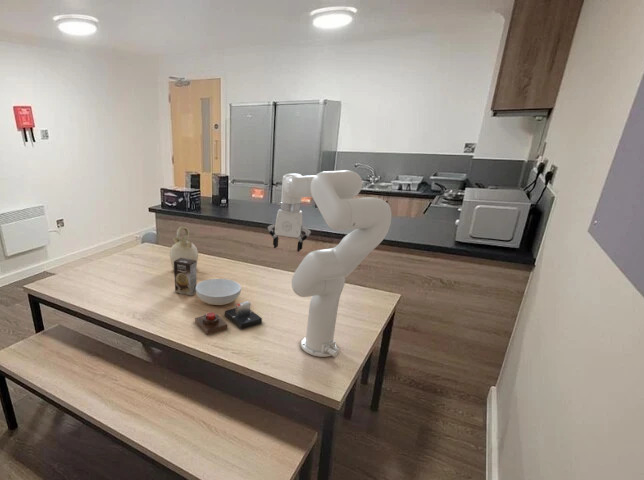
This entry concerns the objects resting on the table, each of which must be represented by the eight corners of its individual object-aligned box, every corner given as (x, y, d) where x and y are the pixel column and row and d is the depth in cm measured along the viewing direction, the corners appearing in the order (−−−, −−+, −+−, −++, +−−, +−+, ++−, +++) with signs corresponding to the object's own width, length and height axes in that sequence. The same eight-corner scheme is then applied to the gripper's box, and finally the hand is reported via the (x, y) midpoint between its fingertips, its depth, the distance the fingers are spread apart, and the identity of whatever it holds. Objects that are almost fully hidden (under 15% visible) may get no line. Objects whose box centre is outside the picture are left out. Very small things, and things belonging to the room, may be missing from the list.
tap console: (261, 323, 154) (262, 317, 153) (240, 329, 150) (240, 323, 149) (244, 310, 165) (244, 305, 164) (224, 316, 160) (224, 310, 159)
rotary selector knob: (247, 311, 158) (248, 300, 156) (250, 313, 157) (250, 302, 155) (235, 315, 156) (235, 303, 154) (238, 317, 154) (238, 305, 152)
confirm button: (216, 318, 151) (216, 315, 150) (208, 321, 149) (208, 317, 148) (212, 315, 154) (212, 311, 153) (204, 317, 152) (204, 313, 151)
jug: (166, 268, 213) (164, 225, 203) (192, 263, 218) (190, 221, 209) (176, 277, 200) (173, 231, 190) (202, 272, 206) (201, 228, 196)
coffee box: (174, 292, 183) (172, 261, 176) (181, 287, 188) (180, 257, 181) (190, 296, 179) (189, 264, 172) (197, 291, 184) (196, 259, 178)
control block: (227, 329, 150) (227, 320, 149) (207, 334, 146) (207, 325, 145) (214, 317, 159) (214, 309, 158) (195, 322, 155) (194, 314, 154)
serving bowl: (248, 296, 178) (248, 283, 175) (227, 315, 161) (227, 300, 158) (210, 287, 187) (210, 274, 185) (186, 304, 171) (186, 290, 168)
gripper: (266, 206, 146) (263, 248, 153) (310, 211, 139) (306, 255, 146) (272, 203, 152) (270, 243, 159) (315, 207, 145) (310, 249, 152)
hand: (287, 248), depth 152 cm, fingers open, 9 cm apart
